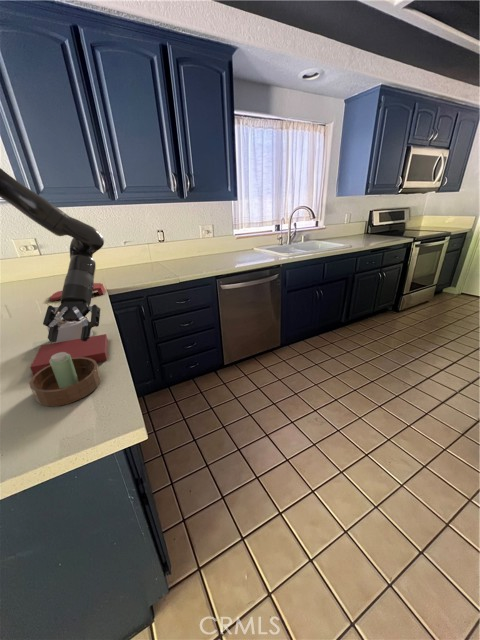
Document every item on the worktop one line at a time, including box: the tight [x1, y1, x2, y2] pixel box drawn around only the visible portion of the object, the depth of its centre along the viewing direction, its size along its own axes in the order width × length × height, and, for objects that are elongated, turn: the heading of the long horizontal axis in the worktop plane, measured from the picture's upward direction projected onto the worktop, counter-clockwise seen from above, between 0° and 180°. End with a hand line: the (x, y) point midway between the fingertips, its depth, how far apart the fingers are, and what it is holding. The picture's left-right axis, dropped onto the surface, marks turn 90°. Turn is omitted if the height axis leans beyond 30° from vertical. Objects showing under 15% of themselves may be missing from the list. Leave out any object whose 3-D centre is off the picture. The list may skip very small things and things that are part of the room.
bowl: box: [29, 357, 102, 407], centre depth 72 cm, size 16×16×5 cm
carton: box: [49, 282, 106, 302], centre depth 145 cm, size 12×5×25 cm
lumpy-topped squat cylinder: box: [46, 316, 94, 344], centre depth 98 cm, size 10×13×9 cm
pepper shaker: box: [49, 352, 79, 389], centre depth 71 cm, size 5×5×10 cm
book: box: [29, 333, 109, 376], centre depth 88 cm, size 20×14×3 cm
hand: (68, 341), depth 73 cm, fingers open, 8 cm apart
